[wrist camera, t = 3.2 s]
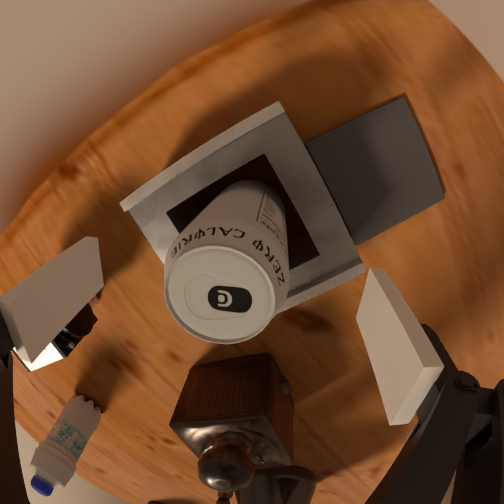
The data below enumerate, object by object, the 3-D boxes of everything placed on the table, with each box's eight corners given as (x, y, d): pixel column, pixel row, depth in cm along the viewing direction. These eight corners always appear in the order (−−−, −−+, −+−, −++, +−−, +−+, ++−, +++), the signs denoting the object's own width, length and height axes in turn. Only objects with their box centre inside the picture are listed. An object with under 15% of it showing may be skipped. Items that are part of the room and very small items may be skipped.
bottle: (78, 385, 39) (20, 476, 20) (111, 410, 40) (63, 506, 21) (67, 397, 41) (16, 479, 22) (97, 420, 42) (54, 505, 24)
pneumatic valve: (126, 292, 31) (68, 362, 20) (70, 323, 34) (19, 380, 22) (98, 250, 29) (27, 306, 18) (46, 288, 32) (-12, 339, 21)
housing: (226, 299, 30) (214, 340, 24) (153, 187, 26) (119, 202, 20) (347, 240, 27) (366, 271, 20) (278, 110, 23) (278, 100, 17)
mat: (354, 243, 27) (356, 245, 26) (304, 143, 24) (305, 143, 23) (442, 196, 24) (445, 198, 24) (401, 97, 21) (403, 96, 21)
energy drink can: (217, 175, 25) (146, 224, 12) (287, 181, 25) (299, 237, 11) (215, 241, 28) (157, 344, 14) (281, 247, 27) (281, 360, 13)
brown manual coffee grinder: (300, 405, 35) (301, 531, 18) (221, 417, 37) (197, 531, 21) (261, 312, 30) (242, 476, 13) (168, 333, 32) (102, 466, 16)
